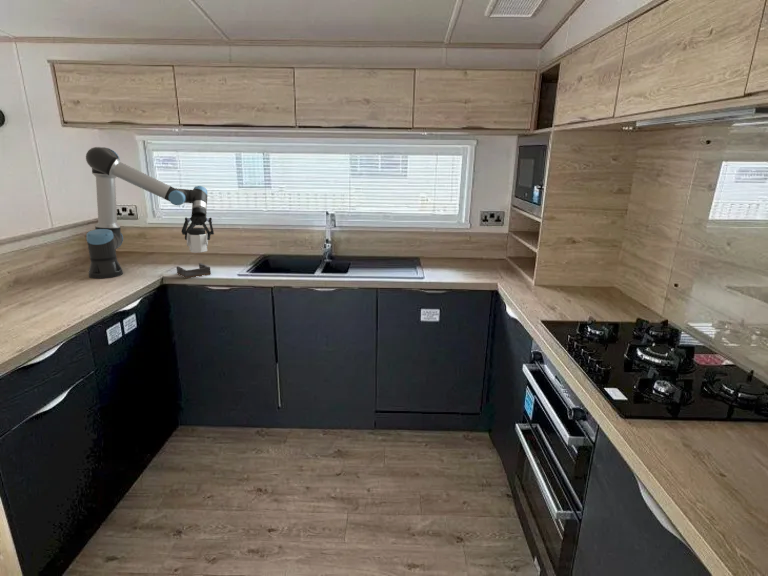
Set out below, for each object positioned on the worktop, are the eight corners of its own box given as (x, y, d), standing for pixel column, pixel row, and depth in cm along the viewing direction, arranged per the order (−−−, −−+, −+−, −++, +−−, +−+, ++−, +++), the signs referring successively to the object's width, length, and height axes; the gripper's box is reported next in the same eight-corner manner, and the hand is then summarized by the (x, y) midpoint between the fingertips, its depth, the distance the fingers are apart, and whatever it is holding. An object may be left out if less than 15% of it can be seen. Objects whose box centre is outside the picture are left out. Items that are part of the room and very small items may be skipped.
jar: (209, 251, 231) (207, 229, 228) (193, 253, 226) (191, 230, 223) (203, 249, 238) (201, 227, 234) (188, 250, 233) (186, 228, 229)
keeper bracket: (177, 273, 232) (176, 266, 231) (201, 270, 241) (200, 263, 240) (186, 278, 223) (185, 271, 222) (210, 274, 232) (210, 267, 231)
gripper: (220, 215, 244) (219, 248, 234) (179, 214, 239) (176, 248, 228) (218, 206, 238) (217, 240, 227) (176, 206, 232) (173, 240, 222)
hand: (197, 244), depth 228 cm, fingers closed on jar, 9 cm apart
